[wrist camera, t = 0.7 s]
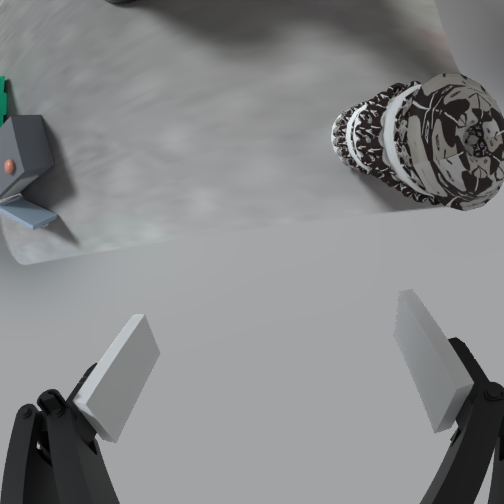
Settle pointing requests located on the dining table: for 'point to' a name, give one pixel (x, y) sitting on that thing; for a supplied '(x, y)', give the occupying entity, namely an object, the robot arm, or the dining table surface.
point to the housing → (22, 153)
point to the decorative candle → (428, 141)
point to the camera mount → (2, 100)
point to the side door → (26, 212)
